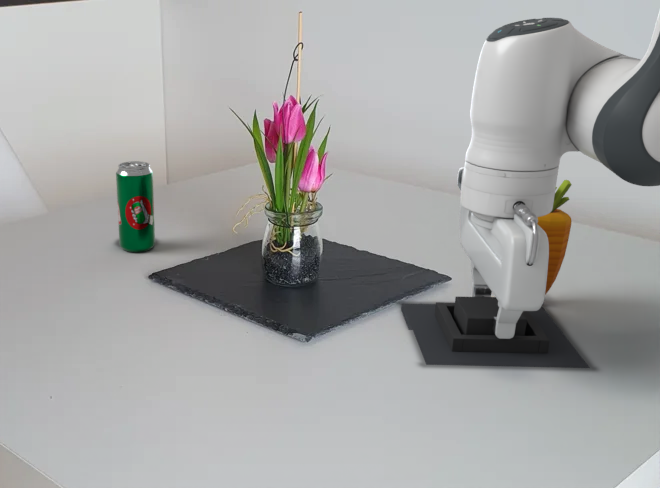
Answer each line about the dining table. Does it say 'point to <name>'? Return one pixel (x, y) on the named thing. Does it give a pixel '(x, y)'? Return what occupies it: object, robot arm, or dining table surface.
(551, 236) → the carrot
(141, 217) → the soda can
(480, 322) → the black block
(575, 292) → the dining table surface
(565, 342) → the socket mat
